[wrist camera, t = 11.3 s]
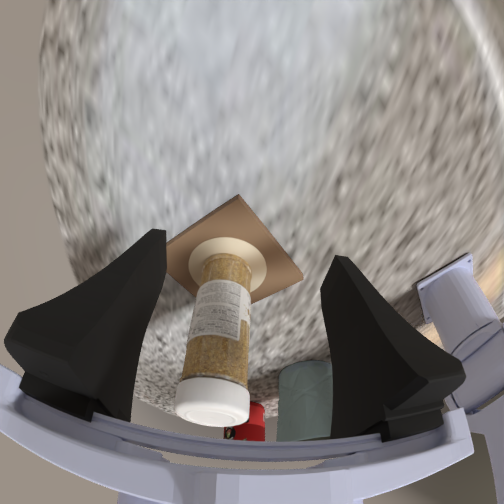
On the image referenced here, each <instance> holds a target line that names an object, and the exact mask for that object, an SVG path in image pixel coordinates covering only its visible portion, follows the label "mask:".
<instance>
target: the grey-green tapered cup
mask: <svg viewBox="0 0 504 504" xmlns="http://www.w3.org/2000/svg"><path fill="white" fill-rule="evenodd" d="M332 405H333V378H332V365H331V364H329V363H327V362H324V361H317V360H311V361H303V362H298V363H294V364H292V365H289V366H287V367H285V368H284V369H283V370H282V371H281V373H280V375H279V402H278V415H279V416H278V423H277V424H278V425H277V427H278V428H277V441H276V442H296V441H317V440H330V433H331V422H332Z"/></svg>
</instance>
